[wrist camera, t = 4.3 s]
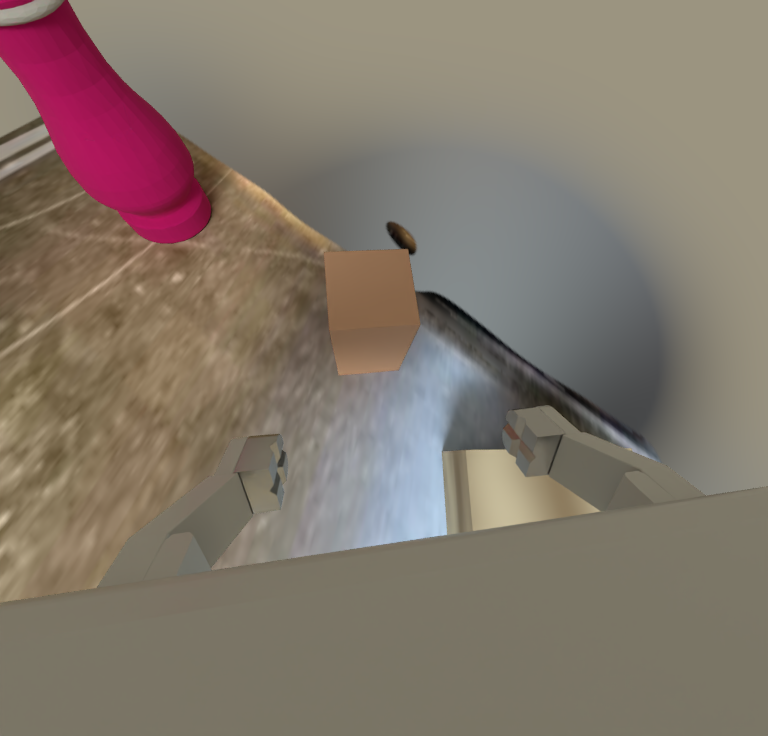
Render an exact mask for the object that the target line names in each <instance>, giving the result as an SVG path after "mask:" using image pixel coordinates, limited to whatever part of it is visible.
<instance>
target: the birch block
mask: <svg viewBox="0 0 768 736" xmlns="http://www.w3.org/2000/svg"><path fill="white" fill-rule="evenodd" d="M627 450H630V451H632V449H631V448H629V449H627ZM442 461H443V476H444V492H445V507H446V522H447V535H450V534H456V533H463V532H469V531H476V530H483V529H489V528H496V527H502V526H509V525H515V524H522V523H529V522H535V521H542V520H548V519H555V518H561V517H568V516H575V515H581V514H588V513H595V512H601V511H599V510H598V509H597V508H595V507H594V506H592V505H591V504H589V503H588V502H586V501H585V500H583V499H582V498H580V497H579V496H577V495H576V494H574V493H573V492H571V491H570V490H568V489H567V488H565V487H564V486H563V485H561V484H560V483H558V482H557V481H555V480H554V479H552V478H551V477H549V475H543V476H533V477H525V476H524V474H523V473H522V471H521V470H520V469H519V467H518V466H517V465H516V463H515V462H516V457H514V456H512V455H510V454H509V453H508V452H507V450H506V449H504V450H457V451H443V452H442Z"/></svg>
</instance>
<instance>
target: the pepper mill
mask: <svg viewBox="0 0 768 736" xmlns="http://www.w3.org/2000/svg"><path fill="white" fill-rule="evenodd" d="M0 57H1V58H2V59H3V61H4V62H5V63H6V64H7V65H8V67H9V68H10V69H11V70H12V71H13V72H14V74H15V75H16V76H17V77H18V78H19V80H20V82H21V83H22V85H23V86H24V88H25V89H26V91H27V92H28V94H29V95H30V97H31V99H32V100H33V101H34V103H35V105H36V107H37V109H38V111H39V113H40V115H41V117H42V119H43V121H44V123H45V125H46V128H47V130H48V132H49V135H50V137H51V139H52V142H53V144H54V146H55V149H56V151H57V153H58V154H59V156H60V158H61V159H62V161H63V162H64V164H65V166H66V167H67V169H68V170H69V172H70V174H71V175H72V176H73V177H74V178H75V180H76V181H77V182H78V183H79V184H80V185H81V186H82V188H83V189H84V190H85V191H86V192H87V193H88V194H89V195H90V196H91V197H93V198H94V199H95V200H97V201H98V202H100V203H102V204H104V205H106V206H108V207H110V208H112V209H115V210H118V212H119V214H120V215H121V217H122V218H123V219H124V220H125V221H126V222H127V223H128V224H129V225H130V226H131V227H132V228H133V229H134V230H135V231H136V232H137V233H138V234H139V235H140V236H142V237H143V238H145V239H147V240H150V241H153V242H157V243H176V242H181V241H185V240H187V239H189V238H192V237H193V236H195V235H196V234H198V233H199V232H200V231H201V230H202V229H203V228H204V227H205V226H206V225H207V223H208V220H209V218H210V214H211V205H210V202H209V200H208V198H207V196H206V194H205V193H204V191H203V189H202V188H201V186H200V184H199V182H198V181H197V180H196V179H195V178H194V166H193V161H192V158H191V155H190V153H189V151H188V149H187V148H186V146H185V145H184V143H183V142H182V140H181V139H180V137H179V136H178V134H177V133H176V131H175V130H174V129H173V128H172V127H171V125H170V124H169V123H168V122H167V121H166V120H165V119H164V118H163V117H162V115H160V114H159V113H158V112H157V111H156V110H155V109H154V108H153V107H152V106H151V105H150V104H149V103H147V102H146V101H145V100H144V99H143V98H142V97H140V96H139V95H138V94H137V93H136V92H134V91H133V90H132V89H131V88H130V87H129V86H128V85H127V84H126V83H125V82H124V81H123V80H122V79H121V78H120V77H119V75H118V74H117V73H116V72H115V71H114V70H113V69H112V67H111V66H110V65H109V64H108V63H107V62H106V60H105V59H104V57H103V56H102V55H101V53H100V52H99V50H98V49H97V47H96V46H95V44H94V43H93V41H92V40H91V38H90V37H89V36H88V34H87V33H86V31H85V30H84V28H83V27H82V25H81V23H80V22H79V20H78V18H77V16H76V15H75V12H74V11H73V9H72V7H71V5H70V4H69V2H68V0H0Z"/></svg>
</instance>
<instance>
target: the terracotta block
mask: <svg viewBox="0 0 768 736" xmlns="http://www.w3.org/2000/svg"><path fill="white" fill-rule="evenodd" d="M324 261H325V275H326V290H327V305H328V320H329V332H330V337H331V341H332V346H333V350H334V355H335V360H336V364H337V369H338V374H339V375H349V374H360V373H372V372H383V371H395V370H399V368H400V366H401V364H402V362H403V360H404V358H405V356H406V353H407V351H408V349H409V347H410V345H411V343H412V341H413V339H414V337H415V335H416V333H417V330H418V328H419V326H420V319H419V313H418V307H417V301H416V295H415V289H414V283H413V277H412V270H411V264H410V258H409V252H408V249H395V250H366V251H338V252H324Z"/></svg>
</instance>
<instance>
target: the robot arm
mask: <svg viewBox="0 0 768 736" xmlns="http://www.w3.org/2000/svg"><path fill="white" fill-rule="evenodd" d="M505 419H506V421H507V422H508V424H507V425H506V426H505V427H504V428H503V432H502V440H503V444H504V447H505V449H506V450H507V452H508V453H509V454H510V455H512V456H514V457H516V462H515V463H516V465H517V466H518V467H519V469H520V470H521V471H522V473H523V474H524V476H525V477H533V476H543V475H549V477H551V478H552V479H554V480H555V481H557V482H558V483H560V484H561V485H563V486H564V487H565V488H567V489H568V490H570V491H571V492H573V493H574V494H576V495H577V496H579V497H580V498H582V499H583V500H585V501H586V502H588V503H589V504H591V505H592V506H594V507H595V508H597V509H598V510H599V511H601V512H595V513H588V514H581V515H575V516H568V517H561V518H555V519H548V520H542V521H535V522H529V523H522V524H515V525H509V526H502V527H496V528H489V529H483V530H476V531H469V532H463V533H456V534H450V535H443V536H436V537H430V538H423V539H416V540H410V541H403V542H397V543H390V544H383V545H377V546H370V547H364V548H357V549H350V550H344V551H337V552H331V553H324V554H317V555H311V556H304V557H298V558H291V559H284V560H278V561H271V562H265V563H258V564H252V565H245V566H238V567H232V568H225V569H219V570H211V567H212V566H213V565H214V564H215V562H216V561H217V560H218V559H219V557H220V556H221V555H222V554H223V552H224V551H225V550H226V549H227V547H228V546H229V545H230V544H231V542H232V541H233V540H234V539H235V538H236V536H237V535H238V534H239V533H240V531H241V530H242V529H243V528H244V526H245V525H246V524H247V523H248V521H249V520H250V519H251V518H252V516H253V514H258V513H264V512H270V511H276V510H281V505H282V500H283V495H284V489H283V484H284V483H285V482H286V480H287V474H288V461H287V455H286V452H284V451H283V450H282V448H283V439H282V435H280V434H271V435H259V436H249V437H238V438H233V439H232V440H231V441H230V443H229V445H228V447H227V449H226V451H225V453H224V455H223V457H222V459H221V461H220V463H219V466H218V468H217V470H216V472H215V474H214V476H208V477H207V478H206V479H205V480H203V481H202V482H201V483H199V484H198V485H197V486H196V487H194V488H193V489H192V490H190V491H189V492H188V493H187V494H185V495H184V496H183V497H181V498H180V499H179V500H178V501H176V502H175V503H174V504H172V505H171V506H170V507H169V508H167V509H166V510H165V511H163V512H162V513H161V514H160V515H158V516H157V517H156V518H154V519H153V520H152V521H151V522H149V523H148V524H147V525H145V526H144V527H143V528H142V529H140V530H139V531H138V532H136V533H135V534H134V535H133V536H131V537H130V538H129V539H128V540H127V542H126V543H125V545H124V546H123V548H122V549H121V551H120V553H119V554H118V556H117V557H116V559H115V560H114V562H113V563H112V565H111V566H110V568H109V569H108V571H107V573H106V574H105V576H104V577H103V579H102V580H101V582H100V583H99V585H98V586H97V588H93V589H87V590H80V591H74V592H67V593H61V594H54V595H48V596H41V597H34V598H28V599H21V600H15V601H8V602H2V603H0V736H768V486H766V487H760V488H753V489H747V490H741V491H734V492H727V493H721V494H714V495H707V496H706V495H704V494H703V493H702V492H701V491H699V490H698V489H697V488H695V487H694V486H693V485H691V484H690V483H689V482H688V481H686V480H685V479H684V478H682V477H681V476H680V475H678V474H677V473H676V472H674V471H673V470H672V469H671V468H669V467H668V466H666V465H664V464H661V463H659V462H656V461H654V460H652V459H649V458H647V457H644V456H642V455H639V454H637V453H634V452H632V451H630V450H627V449H625V448H622V447H620V446H617V445H615V444H612V443H610V442H608V441H605V440H603V439H600V438H598V437H595V436H593V435H590V434H588V433H586V432H583V433H581V432H580V431H579V430H577V429H576V428H575V427H574V426H573V425H572V424H571V423H570V422H568V421H567V420H566V419H565V418H564V417H563V416H562V415H561V414H560V413H558V412H557V411H556V410H555V409H554V408H553V407H551V406H549V405H545V406H537V407H532V408H523V409H513V410H509V411H508V412H507V414H506V418H505Z"/></svg>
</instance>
